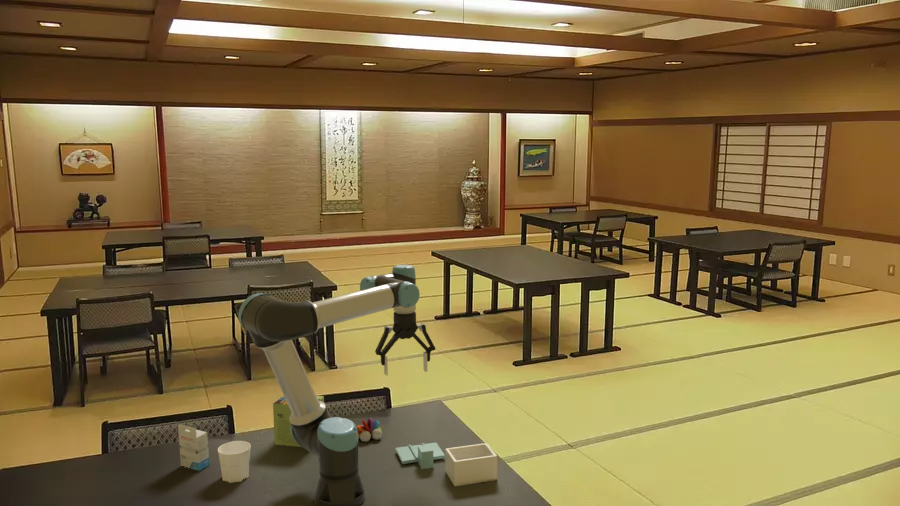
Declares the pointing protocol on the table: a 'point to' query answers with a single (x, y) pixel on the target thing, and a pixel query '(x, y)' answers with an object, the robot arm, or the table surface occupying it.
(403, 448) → the lid
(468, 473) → the tub
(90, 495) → the table surface
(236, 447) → the cup
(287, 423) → the protein box
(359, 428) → the rainbow disc toy
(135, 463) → the table surface
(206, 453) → the ink box
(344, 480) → the robot arm
